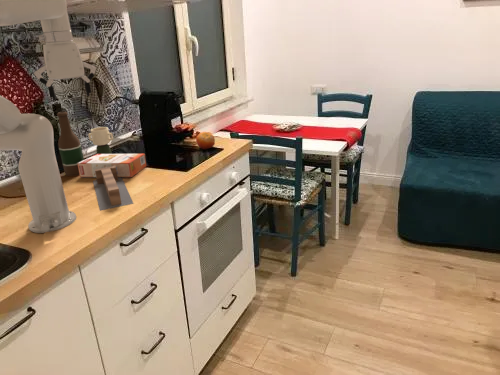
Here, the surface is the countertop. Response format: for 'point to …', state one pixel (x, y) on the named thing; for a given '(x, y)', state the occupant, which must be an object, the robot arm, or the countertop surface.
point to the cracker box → (113, 164)
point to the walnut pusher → (109, 183)
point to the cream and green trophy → (101, 139)
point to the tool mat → (104, 199)
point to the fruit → (205, 140)
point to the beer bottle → (69, 146)
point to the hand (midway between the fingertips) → (71, 97)
